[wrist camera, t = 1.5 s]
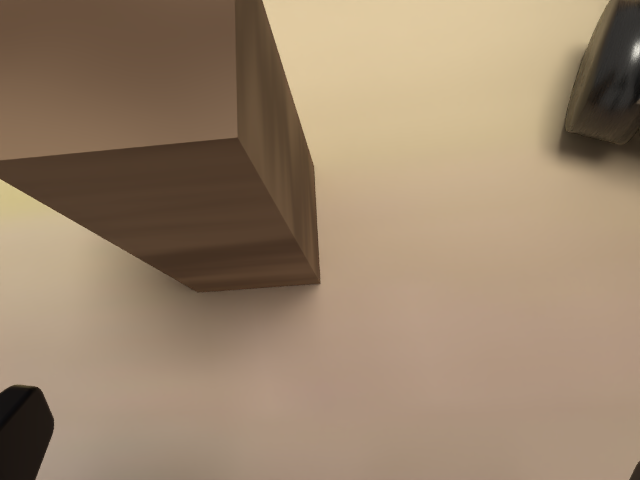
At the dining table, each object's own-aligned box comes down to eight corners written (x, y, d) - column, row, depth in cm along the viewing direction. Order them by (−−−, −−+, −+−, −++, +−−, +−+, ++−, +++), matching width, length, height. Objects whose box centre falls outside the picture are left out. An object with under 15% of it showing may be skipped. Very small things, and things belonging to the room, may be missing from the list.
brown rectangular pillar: (320, 283, 24) (237, 137, 11) (197, 292, 25) (-28, 162, 11) (314, 166, 26) (232, -95, 12) (197, 176, 26) (-5, -64, 13)
